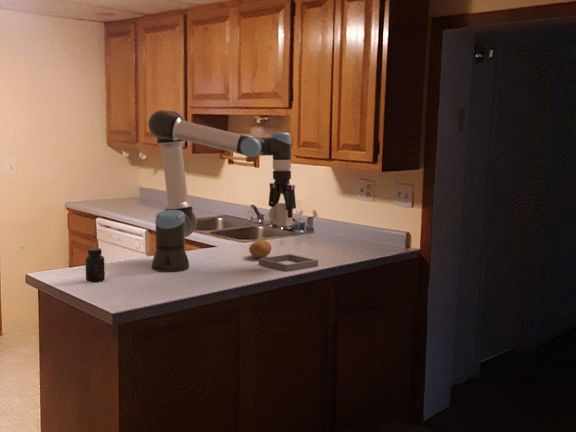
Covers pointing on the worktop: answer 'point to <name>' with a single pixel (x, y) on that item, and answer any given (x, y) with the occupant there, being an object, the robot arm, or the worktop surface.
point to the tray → (275, 260)
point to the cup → (279, 214)
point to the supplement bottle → (95, 265)
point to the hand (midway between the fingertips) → (282, 224)
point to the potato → (260, 249)
